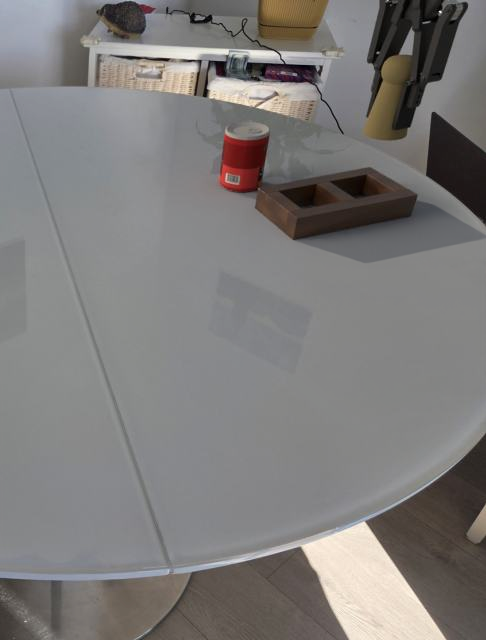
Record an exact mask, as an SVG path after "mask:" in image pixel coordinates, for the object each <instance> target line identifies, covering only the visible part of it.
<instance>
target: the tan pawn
mask: <svg viewBox="0 0 486 640" xmlns="http://www.w3.org/2000/svg"><path fill="white" fill-rule="evenodd" d="M411 60H412V54H399V55H395V56H392V57H389V58H388V59H387V60H386V61H385V62H384V64H383V66H382V70H381V75H382V78H383V82H382V84H381V87H380V89H379V92H378V94H377V97H376V99H375V102H374V104H373V107H372V109H371V112H370V114H369V117H368V118H367V119H366V122H365V125H364V127H363V129H362V134H363V135H364V136H365V137H367V138H370V139H373V140H379V141H389V142H390V141H399V140H403V139H404V138H406V137H407V136H408V130H409V128H404V129H399V130H393V129H391V128H392V123H393V119H394V116H395V112H396V109H397V105H398V101H399V98H400V94H401V91H402V87H403V84H404V83H405V81H409V79H410V70H411ZM421 74H422V72H421V73H420V75H421Z"/></svg>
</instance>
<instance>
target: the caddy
mask: <svg viewBox="0 0 486 640" xmlns="http://www.w3.org/2000/svg"><path fill="white" fill-rule="evenodd" d="M360 195H361V196H362V197H359V198H355V197H356V196H360ZM418 196H419V194H418V193H416V192H414V191H413V190H410V189H409V188H407V187H405V186H404V185H402V184H400V183H398V182H397V181H395V180H393V179H391V178H390V177H388V176H386V175H385V174H384V173H382V172H380V171H378V170H377V169H375V168H373V167H371V166H367V167H362V168H356V169H351V170H347V171H339V172H335V173H329V174H325V175H320V176H319V175H318V176H314V177H309V178H303V179H298V180H293V181H288V182H281V183H277V184H272V185H265V186H260V187H259V188H258V189H257V193H256V200H255V205H254V209H256V210H257V211H258V212H259V213H260V214H262V216H264V217H265V218H266V219H267V220H268V221H270V222H271V223H272V224H273V225H275V226H276V227H277V228H278V229H280V230H281V231H282V232H283V233H284V234H285V235H286V236H288V237H289V238H290V239H291V240H292V241H295V240H298V239H302V238H308V237H314V236H319V235H322V234H328V233H333V232H338V231H342V230H343V231H344V230H347V229H353V228H359V227H363V226H369V225H374V224H378V223H382V222H388V221H393V220H397V219H403V218H408V217H411V216H412V214H413V211H414V208H415V205H416V202H417V198H418ZM309 205H313V206H312V207H307V208H301V207H303V206H309ZM410 215H411V216H410ZM407 216H408V217H407Z"/></svg>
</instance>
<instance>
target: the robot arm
mask: <svg viewBox="0 0 486 640" xmlns="http://www.w3.org/2000/svg"><path fill="white" fill-rule="evenodd" d="M378 1H379V4H378V6H379V7H378V11H377V15H376V20H375V25H374V28H373V32H372V36H371V40H370V44H369V48H368V53H367V57H366V62H367V64H370V65H372V66H373V70H374V74H373V79H372V84H371V87H370V92H371V96H370V99H369V103H368V107H367V111H366V115H365V118H367V119H368V117H369V114H370V112H371V109H372V107H373V104H374V102H375V99H376V97H377V94H378V92H379V89H380V87H381V84H382V82H383V78H382V75H381V70H382V66H383V64H384V62H385V61H386V60H387V59H388V58H389V57H392V56H395V55H400V53H401V51H402V49H403V47H404V44H405V43H406V40H407V38H408V36H409V34H410V31H411V30H412V31H413V33H414V34H413V42H412V43H413V44H412V51H411V55H412V60H411V70H410V79H409V81H405V83H404V84H403V87H402V91H401V94H400V98H399V101H398V105H397V109H396V112H395V116H394V119H393V123H392V128H391V129H393V130H399V129H404V128H408V129H409V128H411V127H412V124H413V121H414V117H415V114H416V111H417V108H419V106H420V105H421V103H422V101H423V97H424V94H425V91H426V87H427V85H428V84H430V83H435V82H440V81H441V80H442V79H443V76H444V73H445V70H446V67H447V64H448V60H449V58H450V54H451V51H452V47H453V46H454V45H453V44H454V41H455V38H456V35H457V32H458V28H459V26H460V22H461V20H462V19H463V17H464V16H465V14H466V13H467V11H468V9H469V3H468V2H467V1H458V0H378ZM421 72H422V74H421V75H420V73H421Z"/></svg>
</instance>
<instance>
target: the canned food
mask: <svg viewBox="0 0 486 640" xmlns="http://www.w3.org/2000/svg"><path fill="white" fill-rule="evenodd" d="M270 136H271V128H270V127H269V126H268V125H266V124H263V123H260V122H255V121H239V122H233V123H231V124H230V123H229V124H228V125H227V126H226V127H225V130H224V135H223V143H222V152H221V160H220V168H219V176H218V177H219V178H218V181H219V185H220V184H221V185H222V186H223V187H224V188H226V189H228V190H227V191H229V190H232V191H231V192H233V191H238V192H237V193H249V191H250V192H254V191H256V190H258V188H260V187H261V185H262V183H263V178H264V171H265V165H266V160H267V153H268V148H269V143H270V142H269V141H270ZM221 185H220V186H221ZM222 186H221V187H222ZM223 187H222V188H223ZM224 188H223V189H224ZM226 189H225V190H226Z"/></svg>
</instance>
